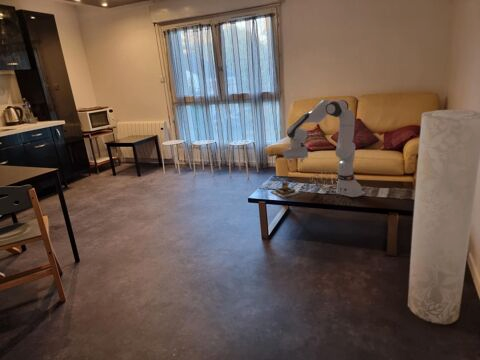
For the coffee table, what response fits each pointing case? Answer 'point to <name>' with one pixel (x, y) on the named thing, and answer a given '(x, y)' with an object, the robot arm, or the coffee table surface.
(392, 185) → the coffee table surface
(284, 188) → the bobbin
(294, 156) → the robot arm
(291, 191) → the pocket board
